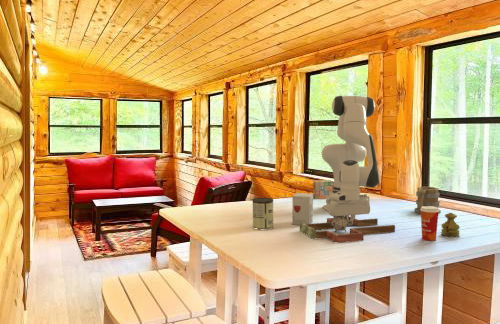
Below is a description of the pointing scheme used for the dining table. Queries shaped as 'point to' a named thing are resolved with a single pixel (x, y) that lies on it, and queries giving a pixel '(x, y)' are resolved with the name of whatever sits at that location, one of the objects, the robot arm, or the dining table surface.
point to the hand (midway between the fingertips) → (349, 224)
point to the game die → (339, 223)
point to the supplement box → (302, 209)
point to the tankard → (427, 198)
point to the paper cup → (429, 222)
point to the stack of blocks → (322, 189)
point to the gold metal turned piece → (450, 226)
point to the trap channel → (355, 233)
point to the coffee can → (263, 213)
